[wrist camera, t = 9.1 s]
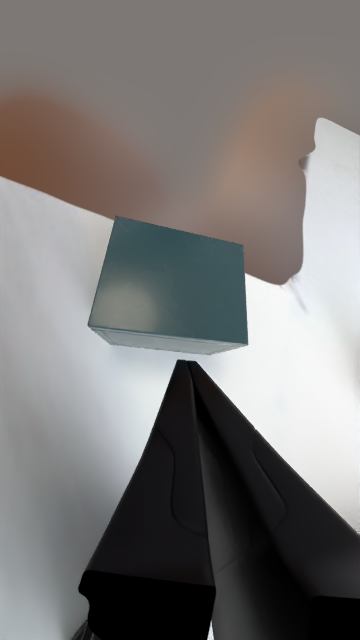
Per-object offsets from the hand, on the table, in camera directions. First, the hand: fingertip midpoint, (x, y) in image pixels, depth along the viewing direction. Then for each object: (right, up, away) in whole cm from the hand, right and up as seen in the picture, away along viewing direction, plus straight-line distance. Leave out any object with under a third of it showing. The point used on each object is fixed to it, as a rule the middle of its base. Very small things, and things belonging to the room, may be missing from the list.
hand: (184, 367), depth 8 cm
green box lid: (0, +5, +6) cm, 8 cm away
